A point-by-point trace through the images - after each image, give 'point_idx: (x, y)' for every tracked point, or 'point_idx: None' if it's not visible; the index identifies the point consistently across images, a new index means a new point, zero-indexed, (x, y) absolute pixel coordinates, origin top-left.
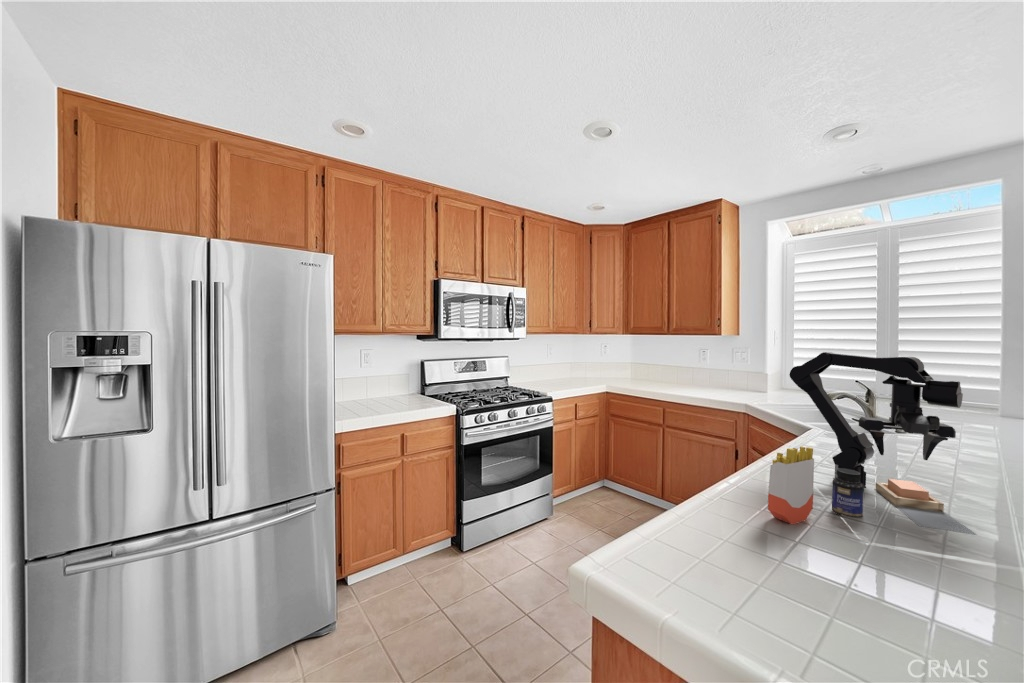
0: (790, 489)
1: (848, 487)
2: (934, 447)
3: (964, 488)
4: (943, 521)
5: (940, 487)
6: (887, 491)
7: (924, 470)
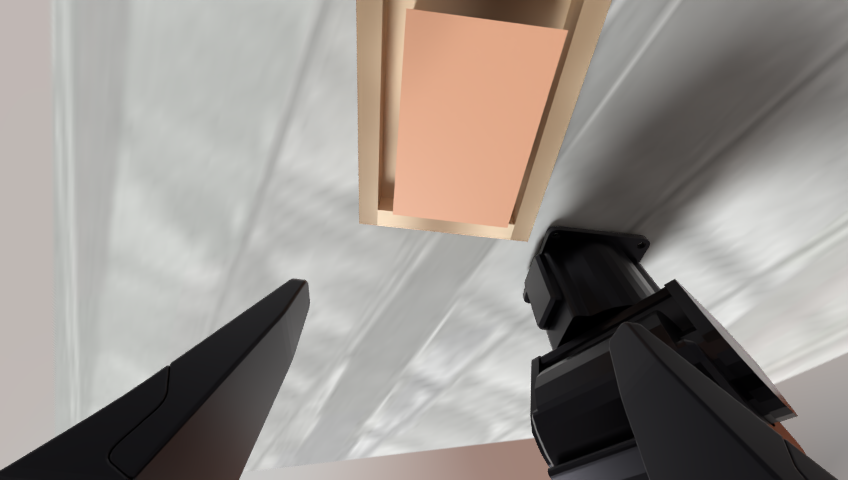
0: None
1: None
2: (127, 396)
3: (180, 329)
4: None
5: None
6: (575, 102)
7: None
